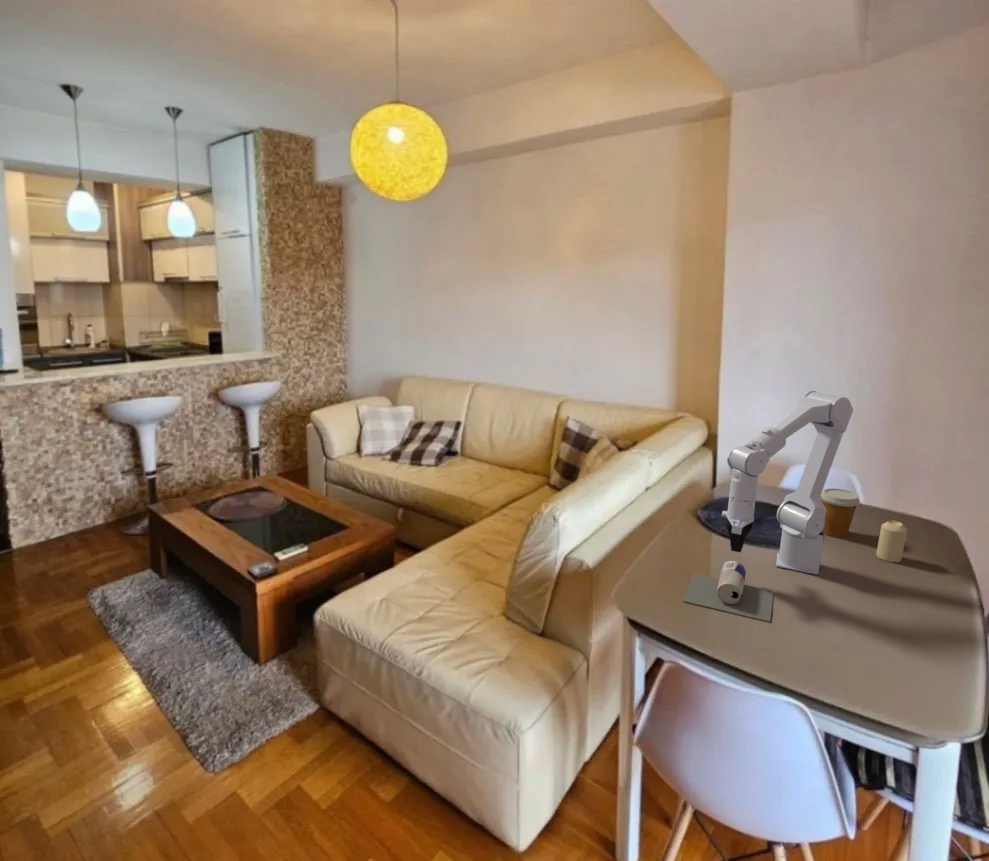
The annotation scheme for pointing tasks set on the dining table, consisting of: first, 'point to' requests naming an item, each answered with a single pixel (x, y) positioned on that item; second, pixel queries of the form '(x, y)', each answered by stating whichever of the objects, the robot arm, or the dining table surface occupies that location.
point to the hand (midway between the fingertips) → (736, 550)
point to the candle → (891, 541)
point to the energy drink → (731, 582)
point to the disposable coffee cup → (838, 511)
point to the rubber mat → (750, 605)
